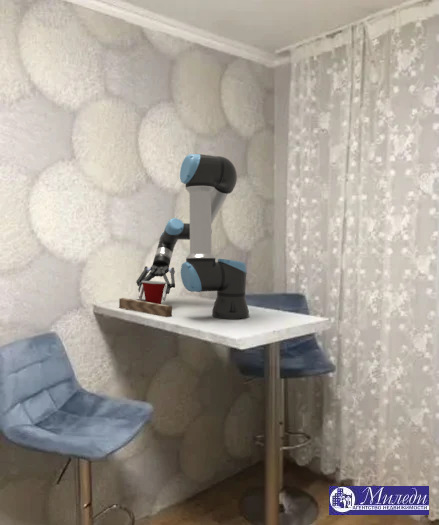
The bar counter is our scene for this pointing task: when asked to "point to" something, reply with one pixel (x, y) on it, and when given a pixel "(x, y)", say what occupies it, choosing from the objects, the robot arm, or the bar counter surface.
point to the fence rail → (145, 307)
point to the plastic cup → (153, 291)
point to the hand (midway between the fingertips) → (151, 298)
